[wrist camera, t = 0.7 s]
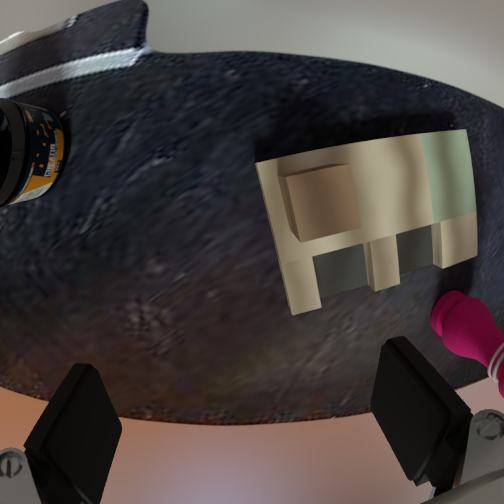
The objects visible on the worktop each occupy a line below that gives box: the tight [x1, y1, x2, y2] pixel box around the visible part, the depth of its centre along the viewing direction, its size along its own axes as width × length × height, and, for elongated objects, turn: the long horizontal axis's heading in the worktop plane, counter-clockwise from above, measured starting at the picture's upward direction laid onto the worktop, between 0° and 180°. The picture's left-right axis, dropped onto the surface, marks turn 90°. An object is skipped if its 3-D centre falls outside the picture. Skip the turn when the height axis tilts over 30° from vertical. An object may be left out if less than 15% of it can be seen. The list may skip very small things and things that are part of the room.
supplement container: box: [0, 98, 69, 208], centre depth 20 cm, size 10×10×12 cm
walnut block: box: [277, 164, 362, 243], centre depth 24 cm, size 5×5×5 cm
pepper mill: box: [431, 290, 504, 398], centre depth 24 cm, size 7×7×20 cm
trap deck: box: [255, 129, 477, 315], centre depth 29 cm, size 24×15×2 cm, turn 104°
